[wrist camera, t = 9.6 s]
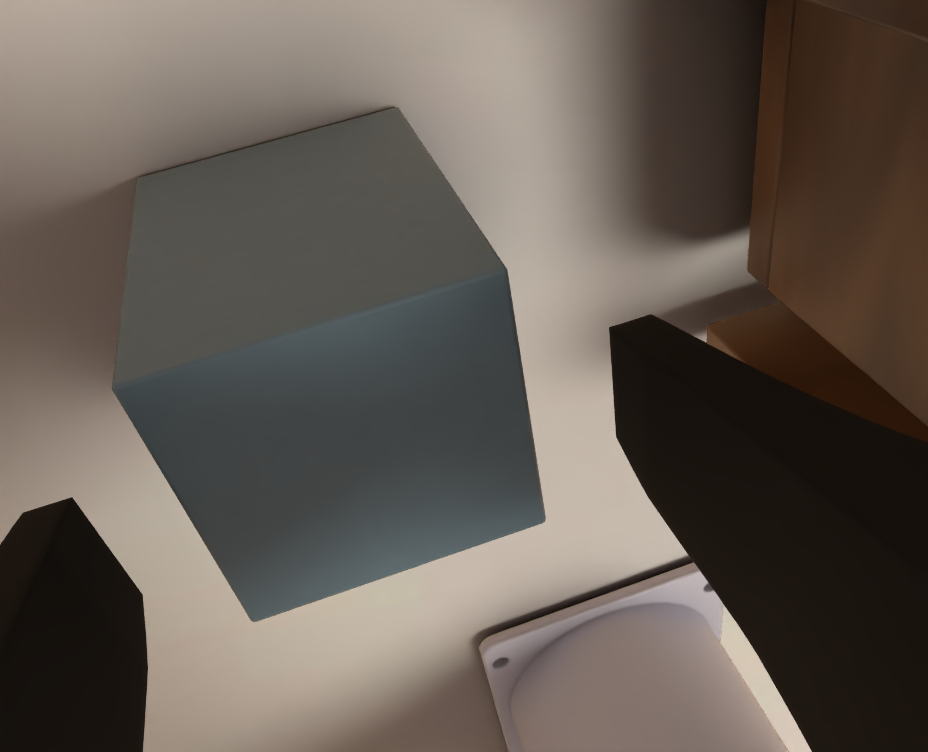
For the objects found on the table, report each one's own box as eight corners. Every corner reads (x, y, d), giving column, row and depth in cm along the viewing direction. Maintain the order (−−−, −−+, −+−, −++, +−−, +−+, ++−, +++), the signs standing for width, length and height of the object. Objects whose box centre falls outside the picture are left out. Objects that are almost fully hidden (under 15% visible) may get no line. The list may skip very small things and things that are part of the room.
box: (445, 317, 16) (548, 523, 12) (232, 383, 16) (252, 624, 11) (398, 105, 14) (508, 267, 9) (135, 176, 13) (108, 388, 8)
